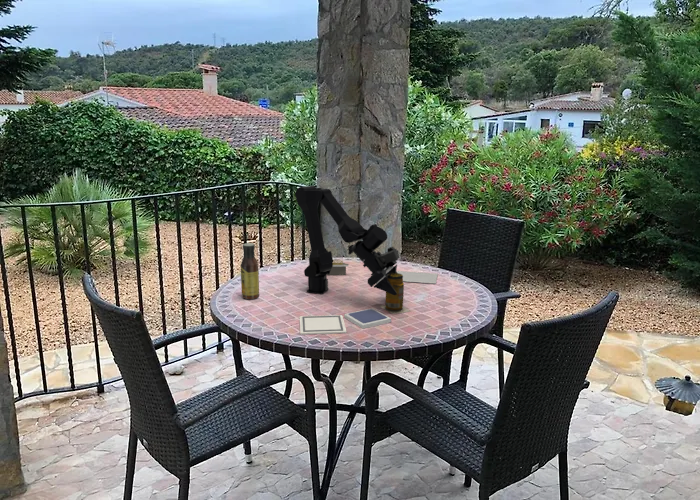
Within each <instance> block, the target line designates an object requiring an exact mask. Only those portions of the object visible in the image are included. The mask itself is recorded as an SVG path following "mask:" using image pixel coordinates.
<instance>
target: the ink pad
mask: <svg viewBox="0 0 700 500" xmlns="http://www.w3.org/2000/svg"><path fill="white" fill-rule="evenodd" d="M343 319H345V320H348V321H349V322H350V323H352V324H353V325H354V324H355V326H357V327H359V328H360V329H363V330H364V329H368V328H372V327H376V326H380V325H384V324H389V323H392V318H391V317H389V316H387V315H386V314H384V313H382V312H380V311H378V310H377V309H375V308H368V309H367V308H366V309H362V310H358V311H353V312H352V311H351V312H348V313H344V316H343Z"/></svg>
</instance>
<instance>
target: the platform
mask: <svg viewBox="0 0 700 500" xmlns="http://www.w3.org/2000/svg"><path fill="white" fill-rule="evenodd" d="M333 261H334V262H333V267H332V268H331V271H330V274H326V275H327V276H347V267H349V266H350V265H349V263H346V262H343V261H344V260H341V259H337V260H336V259H333Z"/></svg>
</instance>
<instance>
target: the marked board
mask: <svg viewBox="0 0 700 500" xmlns="http://www.w3.org/2000/svg"><path fill="white" fill-rule="evenodd" d="M299 329H300V330H299V332H300V333H299V334H300V335H301V336H303V335H332V334H334V335H335V334H347V329H346V324H345V320H344V316H343V314H342V315H341V314H337V315H336V314H335V315H334V314H332V315H301V316H299Z"/></svg>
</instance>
